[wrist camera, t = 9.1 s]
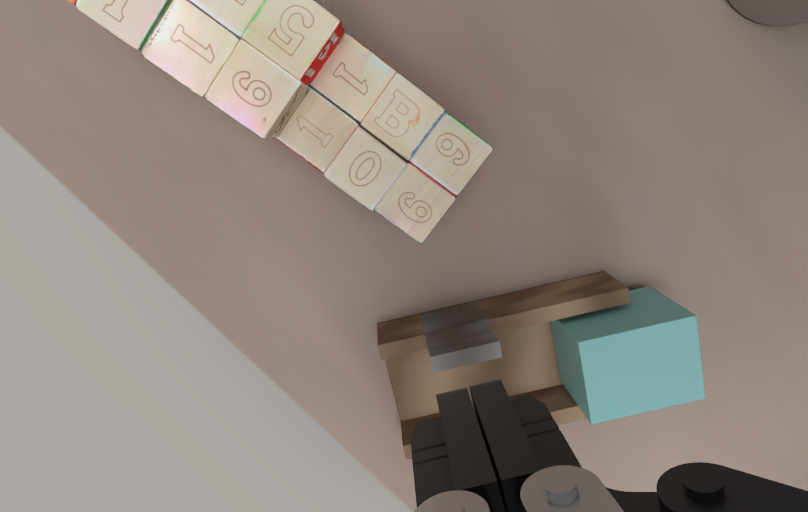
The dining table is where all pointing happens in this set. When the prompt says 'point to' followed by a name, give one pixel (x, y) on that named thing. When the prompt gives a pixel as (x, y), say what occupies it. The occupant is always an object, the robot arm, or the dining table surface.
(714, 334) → the dining table surface
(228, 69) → the stack of blocks
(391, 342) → the wooden rail tray
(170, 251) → the dining table surface
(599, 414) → the block
